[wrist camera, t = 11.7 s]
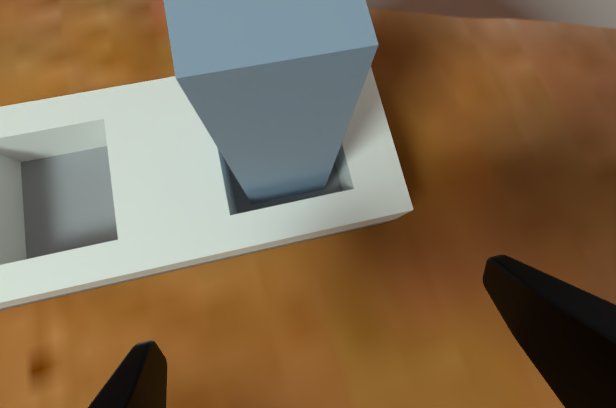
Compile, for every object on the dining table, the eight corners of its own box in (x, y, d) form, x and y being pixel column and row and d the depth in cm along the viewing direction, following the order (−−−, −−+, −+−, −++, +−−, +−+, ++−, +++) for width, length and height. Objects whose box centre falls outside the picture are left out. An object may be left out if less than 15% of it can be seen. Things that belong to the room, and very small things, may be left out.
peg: (324, 189, 20) (378, 44, 7) (251, 204, 20) (176, 78, 7) (308, 122, 21) (332, -111, 8) (238, 135, 20) (149, -89, 8)
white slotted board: (390, 221, 21) (413, 209, 17) (-8, 311, 19) (-87, 322, 15) (351, 82, 23) (364, 43, 19) (-14, 150, 21) (-86, 121, 17)
